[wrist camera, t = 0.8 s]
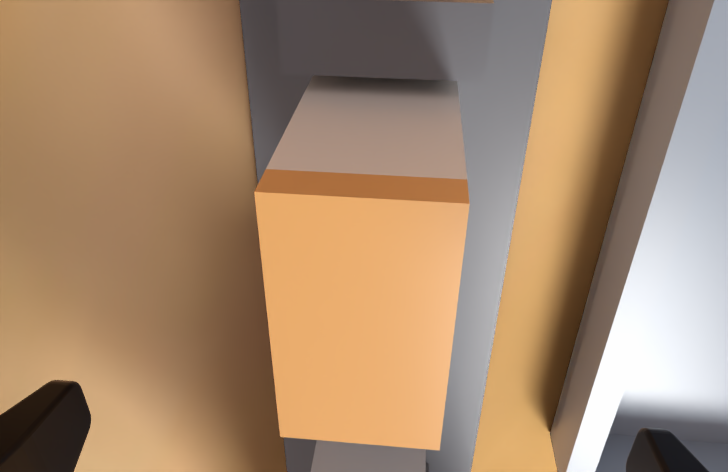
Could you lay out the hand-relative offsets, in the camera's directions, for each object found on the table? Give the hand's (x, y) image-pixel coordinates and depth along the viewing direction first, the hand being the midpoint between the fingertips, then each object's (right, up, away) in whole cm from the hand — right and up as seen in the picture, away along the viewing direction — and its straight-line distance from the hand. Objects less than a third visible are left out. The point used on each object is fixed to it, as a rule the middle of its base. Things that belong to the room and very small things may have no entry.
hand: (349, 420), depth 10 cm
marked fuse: (+1, +6, +8) cm, 10 cm away
